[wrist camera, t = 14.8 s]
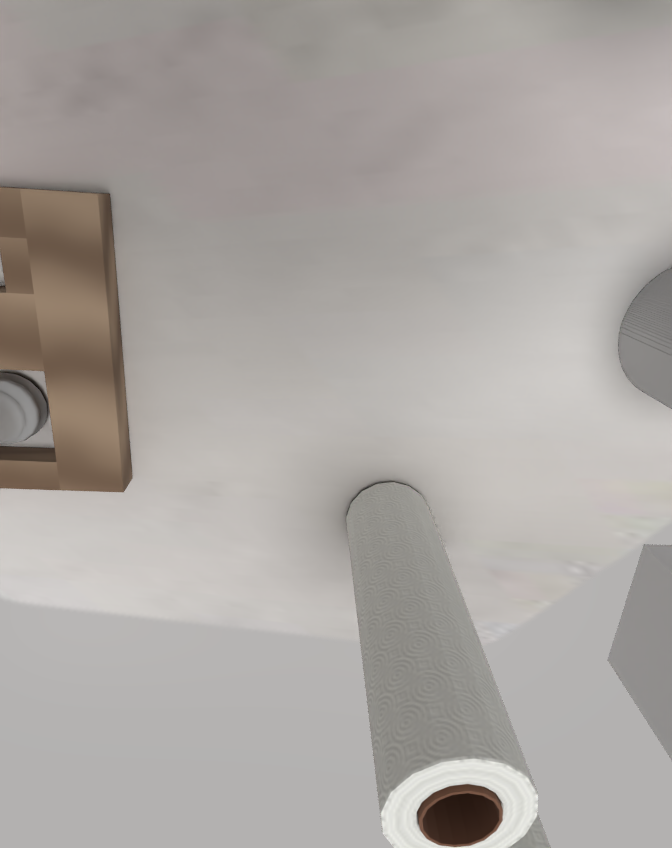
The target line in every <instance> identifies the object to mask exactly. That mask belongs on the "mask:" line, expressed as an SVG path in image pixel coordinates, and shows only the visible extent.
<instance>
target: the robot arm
mask: <svg viewBox="0 0 672 848" xmlns="http://www.w3.org/2000/svg"><path fill="white" fill-rule="evenodd" d="M608 661H609V663H610V664H611V666H612V668H613V669H614V671H615V672H616V674H617V675H618V677H619V679H620V680H621V682H622V683H623V685H624V686H625V688H626V690H627V691H628V693H629V694H630V695H631V697H632V699H633V700H634V702H635V704H636V705H637V706H638V708H639V710H640V711H641V713H642V714H643V716H644V717H645V719H646V721H647V722H648V724H649V726H650V727H651V729H652V730H653V732H654V733H655V735H656V736H657V738H658V740H659V741H660V743H661V744H662V746H663V747H664V749H665V750H666V752H667V754H668V755H669V757H670V758H671V760H672V545H649V544H644V546H643V549H642V552H641V555H640V558H639V561H638V565H637V568H636V571H635V574H634V577H633V581H632V584H631V587H630V590H629V593H628V597H627V600H626V603H625V606H624V609H623V612H622V616H621V619H620V622H619V625H618V628H617V632H616V635H615V638H614V641H613V644H612V647H611V650H610V654H609V657H608Z"/></svg>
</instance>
